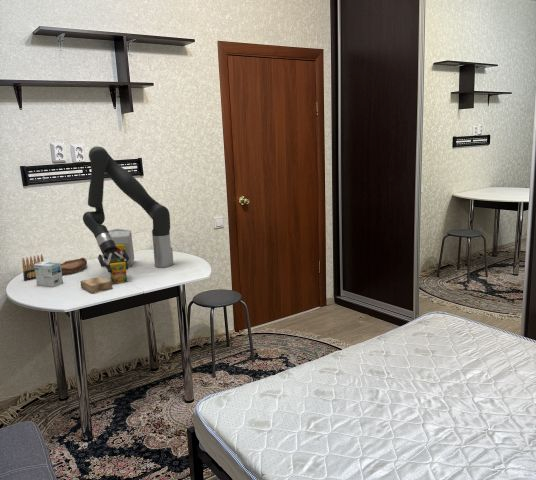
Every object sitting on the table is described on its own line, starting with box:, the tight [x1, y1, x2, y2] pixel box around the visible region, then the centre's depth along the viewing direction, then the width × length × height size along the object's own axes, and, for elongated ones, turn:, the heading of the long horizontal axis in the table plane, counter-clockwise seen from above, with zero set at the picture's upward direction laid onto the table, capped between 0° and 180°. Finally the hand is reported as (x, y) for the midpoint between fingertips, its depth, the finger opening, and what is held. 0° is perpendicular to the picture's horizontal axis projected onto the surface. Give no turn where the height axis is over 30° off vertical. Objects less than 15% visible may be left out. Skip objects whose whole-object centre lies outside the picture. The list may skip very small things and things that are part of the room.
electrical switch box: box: [103, 228, 135, 266], centre depth 271 cm, size 15×15×20 cm
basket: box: [61, 257, 88, 276], centre depth 268 cm, size 22×20×5 cm
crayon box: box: [110, 258, 128, 285], centre depth 243 cm, size 7×3×12 cm, turn 114°
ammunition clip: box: [21, 254, 45, 282], centre depth 253 cm, size 11×2×12 cm, turn 131°
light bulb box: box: [33, 260, 64, 288], centre depth 243 cm, size 11×7×11 cm, turn 71°
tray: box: [79, 275, 113, 295], centre depth 235 cm, size 10×12×4 cm
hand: (119, 270), depth 242 cm, fingers closed on crayon box, 8 cm apart
